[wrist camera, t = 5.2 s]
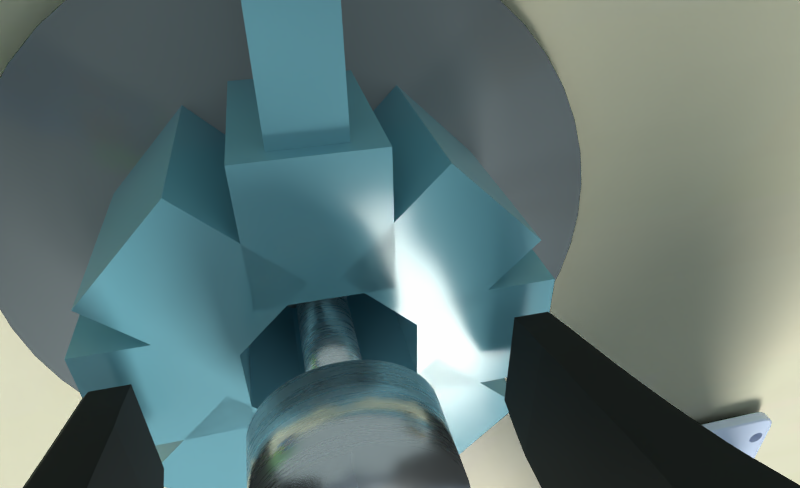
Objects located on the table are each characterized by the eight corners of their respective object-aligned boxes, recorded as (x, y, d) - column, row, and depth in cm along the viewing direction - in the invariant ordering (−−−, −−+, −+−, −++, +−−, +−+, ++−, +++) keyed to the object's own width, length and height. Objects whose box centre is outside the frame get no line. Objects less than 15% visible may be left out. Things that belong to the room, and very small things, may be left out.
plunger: (381, 300, 14) (465, 554, 9) (254, 320, 13) (266, 604, 8) (376, 190, 12) (476, 425, 7) (231, 208, 12) (227, 477, 7)
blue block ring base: (539, 386, 18) (605, 501, 15) (94, 475, 16) (58, 635, 13) (624, -112, 11) (790, -99, 8) (-188, -85, 8) (-452, -49, 5)
